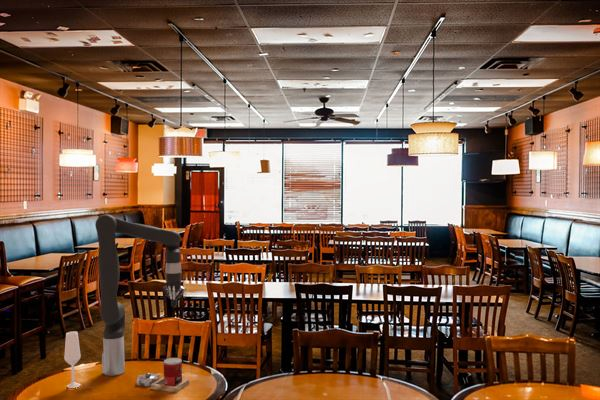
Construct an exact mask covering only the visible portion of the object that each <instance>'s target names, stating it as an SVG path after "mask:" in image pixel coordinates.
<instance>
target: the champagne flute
mask: <svg viewBox="0 0 600 400" xmlns="http://www.w3.org/2000/svg"><path fill="white" fill-rule="evenodd" d="M64 343H65V344H64V346H65V347H64V358H63V359H64V361H65V362H66V363H67V364H68V365H70V366H71V370H70V371H71V383H69V384H67V385H66V386H67V387H69V388H75V387H76V389H78V388H77V387H79V386H80V385H81V386H82V383H78V382H76V381H75V380H76V379H75V378H76V377H75V365H76V364H77V363H78V362H79V361H80V359H81V357H82V355H81V349H80V340H79V333H78V331H74V330H73V331H68V332H66V334H65V342H64ZM79 388H80V387H79Z"/></svg>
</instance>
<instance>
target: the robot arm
mask: <svg viewBox="0 0 600 400" xmlns="http://www.w3.org/2000/svg"><path fill="white" fill-rule="evenodd" d="M95 230H96V235H97V241H98V257H97V259H98V260H97V261H98V277H99V289H100V308H99V309H100V313H99V315H100V318H101V320H102V322H103V323H104V329H103V331H102V333H103V334H102V337H103V338H102V341H103V342H102V343H103V352H102V353H101V366H102V368H101V370H102V371H101V372H102V374H104V376H108V377H109V376H119V375H122V374H123V373H125V372H126V371H125V370H126V369H125V368H126V367H125V339H124V338H125V337H124V336H125V335H124V334H125V329H126V328H125V327H126V312H125V311H126V310H125V306H124V305H123V304H122V303H121V302H119V301H118V294H117V293H118V288H119V282H120V276H121V275H120V274H121V273H120V272H121V271H120V261H119V255H118V251H117V250H118V249H117V245H116V234H119V235H120V234H122V235H127V236H130V237H134V238H137V239H141V240H143V241H148V242H156V243H160V244H163V245H164V246H165V285H164V286H163V287H162V288H161V290H162V291H163V293H164V294H165V296H166V298H168V299H170V306H171V307H172V308H176V307H177V306H178V299H179V298H180V299H181V298H182V297H183V295H184V293H185V291H186V290H187V289H186V287H184V286H183V284H182V264H181V263H182V262H181V250H180V243H181V238H182V237H181V235H180V233H178V231H175V230H172V229H171V230H167V229H162V228H159V227H157V226H151V225H147V224H142V223H135V222H131V221H126V220H123V219H120V218H118V217H115V216H113V215H111V214H107V213H105V214H102V215H100V216H98V218H97V219H96V220H95Z"/></svg>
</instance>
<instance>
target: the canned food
mask: <svg viewBox="0 0 600 400" xmlns="http://www.w3.org/2000/svg"><path fill="white" fill-rule="evenodd" d="M182 363H183V362H182V359H181V358H178V357H169V358H166V359H164V360H163V377H164V383H163V385H167V386H174V387H175V386H177V385H178V384H180V383H181V382H183V364H182Z"/></svg>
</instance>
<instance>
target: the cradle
mask: <svg viewBox="0 0 600 400" xmlns="http://www.w3.org/2000/svg"><path fill="white" fill-rule="evenodd" d="M189 384H190V379H184V380H182V382H181V383H180V384H178V385H177V386H175V387H174V386H167V385H164V376H163V377H161V378H159V380H157V381H156V382H154V383H152V384H151V385H150V386H149V387H150V389H151V390H156V391H163V392H169V393H170V392H171V393H179V391H181V390H182V389H184V388H185V387H186V386H188V385H189Z"/></svg>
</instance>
